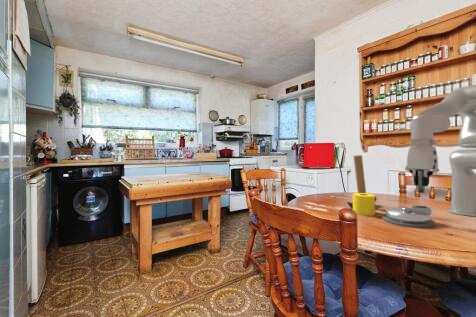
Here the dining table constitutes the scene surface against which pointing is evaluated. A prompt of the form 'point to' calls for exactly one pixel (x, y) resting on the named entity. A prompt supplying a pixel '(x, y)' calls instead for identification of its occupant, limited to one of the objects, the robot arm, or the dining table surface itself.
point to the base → (409, 223)
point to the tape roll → (364, 204)
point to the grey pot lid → (410, 214)
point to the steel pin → (420, 181)
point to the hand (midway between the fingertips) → (421, 185)
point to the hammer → (359, 176)
